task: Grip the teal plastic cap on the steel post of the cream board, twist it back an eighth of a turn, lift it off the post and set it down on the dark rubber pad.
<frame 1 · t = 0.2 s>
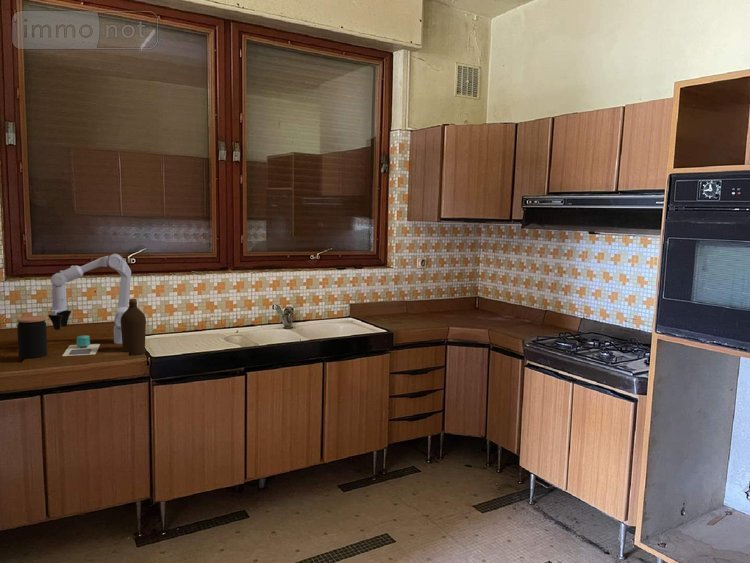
hand: (60, 328, 260), 10 cm above the worktop, tool pointing down, fingers open, 7 cm apart
olive oil: (134, 353, 257), on the worktop
coffee jar: (33, 359, 241), on the worktop
post: (83, 347, 259), resting on board
cap: (83, 345, 259), point 2 cm above the worktop, touching post
pad: (80, 352, 249), resting on board
board: (82, 352, 254), on the worktop
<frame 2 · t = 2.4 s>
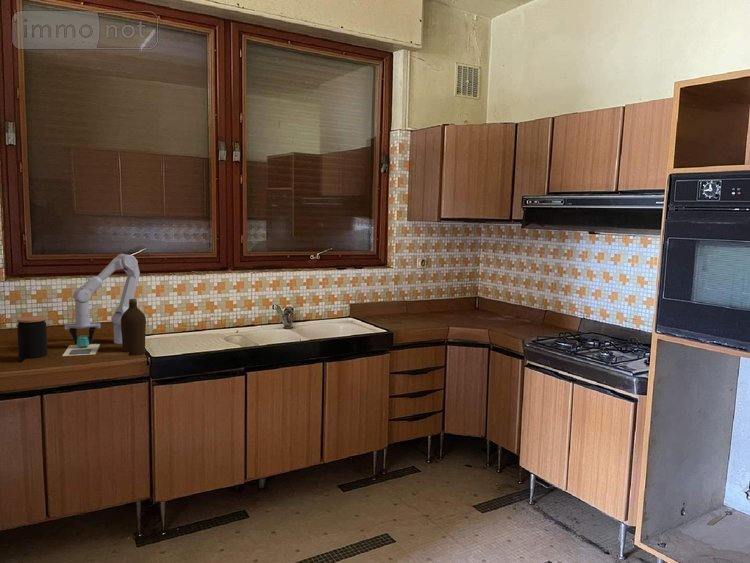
hand: (83, 344, 258), 3 cm above the worktop, tool pointing down, fingers closed on cap, 5 cm apart
cap: (83, 345, 259), point 2 cm above the worktop, touching gripper, post
everything else where it was.
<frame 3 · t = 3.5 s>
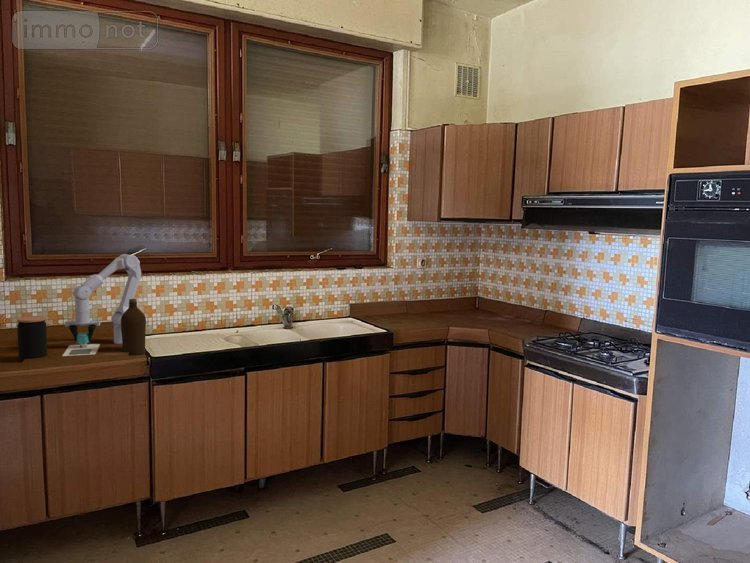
hand: (83, 341, 258), 4 cm above the worktop, tool pointing down, fingers closed on cap, 5 cm apart
cap: (83, 342, 258), point 4 cm above the worktop, touching gripper
everything else where it was.
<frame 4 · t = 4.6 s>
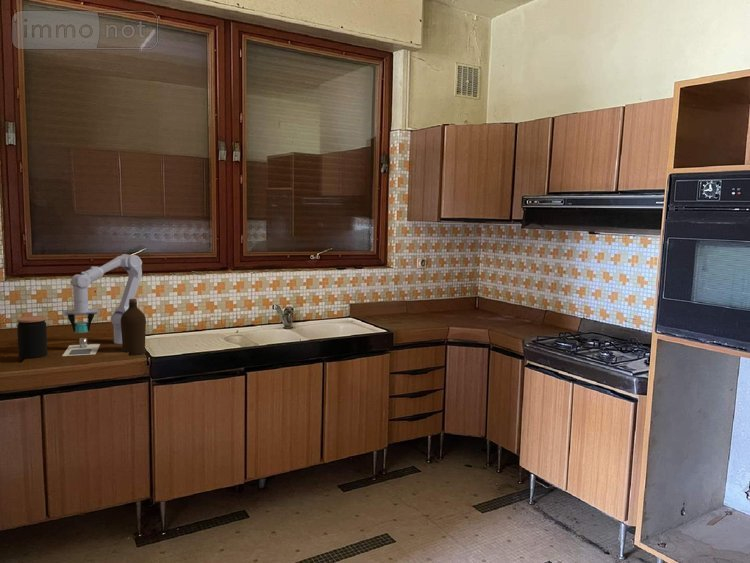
hand: (81, 330, 254), 10 cm above the worktop, tool pointing down, fingers closed on cap, 5 cm apart
cap: (81, 331, 255), point 9 cm above the worktop, touching gripper
everything else where it was.
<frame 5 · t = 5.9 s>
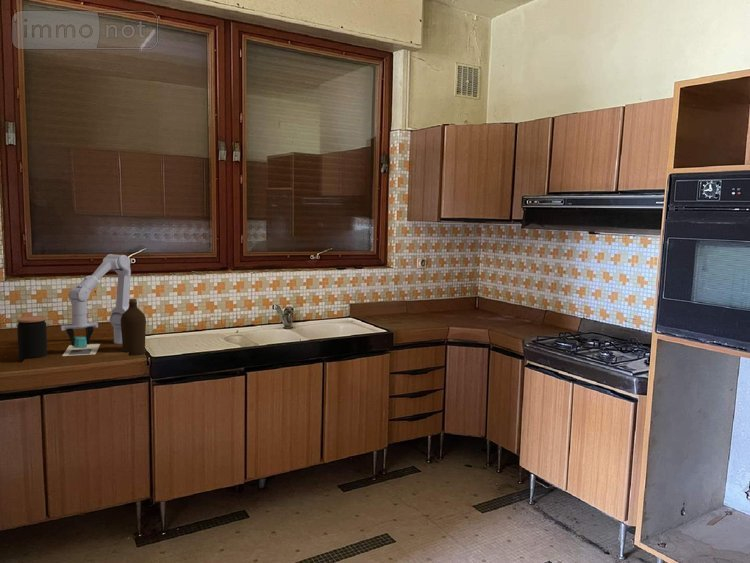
hand: (80, 344, 249), 5 cm above the worktop, tool pointing down, fingers closed on cap, 5 cm apart
cap: (80, 345, 249), point 4 cm above the worktop, touching gripper
everything else where it was.
when the fingers open (3 cm above the worktop, at t = 7.1 s): cap stays where it is, resting on pad.
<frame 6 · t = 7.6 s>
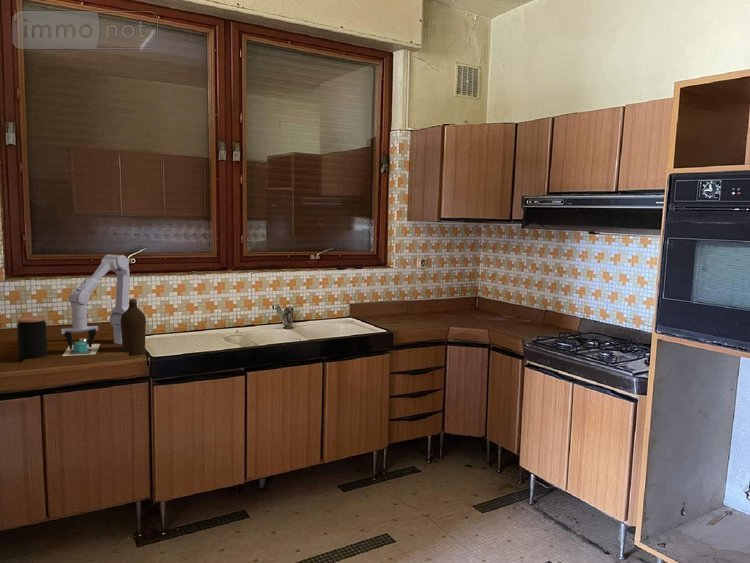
hand: (80, 348, 249), 3 cm above the worktop, tool pointing down, fingers open, 7 cm apart
cap: (80, 351, 249), point 2 cm above the worktop, touching pad
everything else where it was.
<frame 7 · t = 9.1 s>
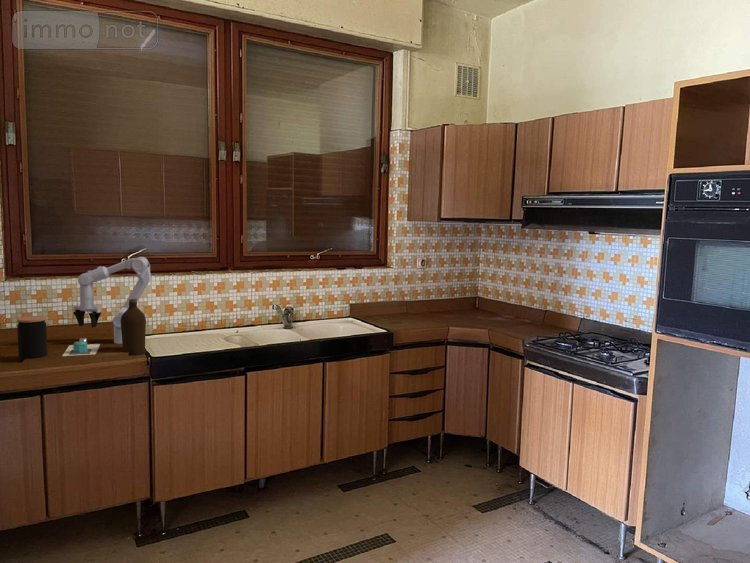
hand: (87, 326, 267), 9 cm above the worktop, tool pointing down, fingers open, 7 cm apart
nothing on the worktop moved.
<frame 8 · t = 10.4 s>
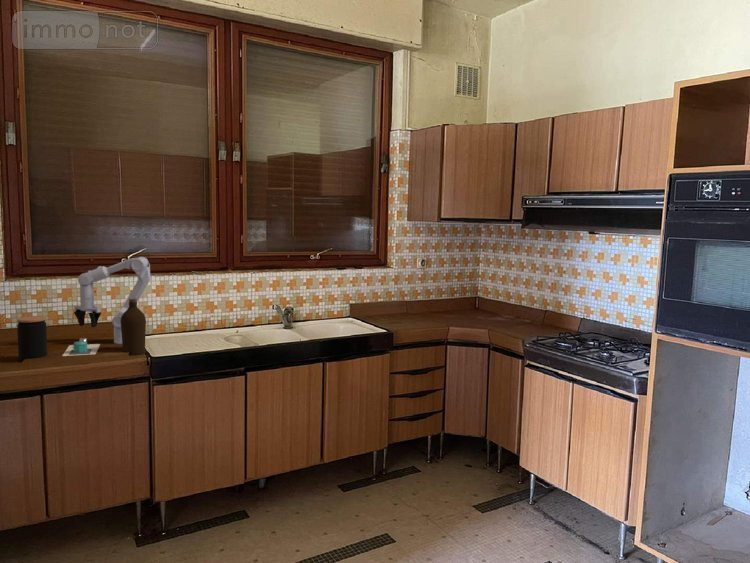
hand: (87, 326, 267), 9 cm above the worktop, tool pointing down, fingers open, 7 cm apart
nothing on the worktop moved.
at the end: cap 0.1 cm from the pad (horizontally); the gripper is holding nothing; cap tilted 0° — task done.
